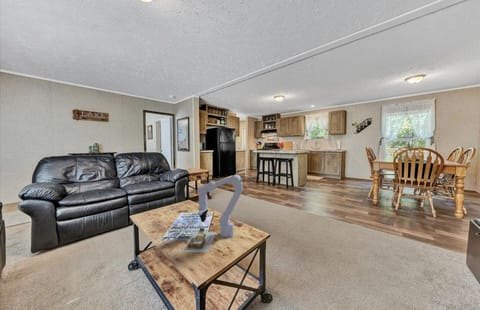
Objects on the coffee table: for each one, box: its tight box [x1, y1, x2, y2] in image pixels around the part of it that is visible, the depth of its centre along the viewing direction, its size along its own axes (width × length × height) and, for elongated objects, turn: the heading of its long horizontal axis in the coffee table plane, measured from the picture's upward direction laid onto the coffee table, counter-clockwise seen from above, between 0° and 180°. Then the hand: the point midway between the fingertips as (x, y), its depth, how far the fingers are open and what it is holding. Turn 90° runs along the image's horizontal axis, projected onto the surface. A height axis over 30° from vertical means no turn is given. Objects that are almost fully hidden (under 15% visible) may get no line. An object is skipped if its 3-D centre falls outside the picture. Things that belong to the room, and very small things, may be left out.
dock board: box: [181, 231, 217, 253], centre depth 114 cm, size 16×24×1 cm, turn 176°
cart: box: [196, 227, 206, 241], centre depth 117 cm, size 6×5×6 cm
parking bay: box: [188, 238, 205, 249], centre depth 109 cm, size 9×7×2 cm
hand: (203, 220), depth 124 cm, fingers closed
